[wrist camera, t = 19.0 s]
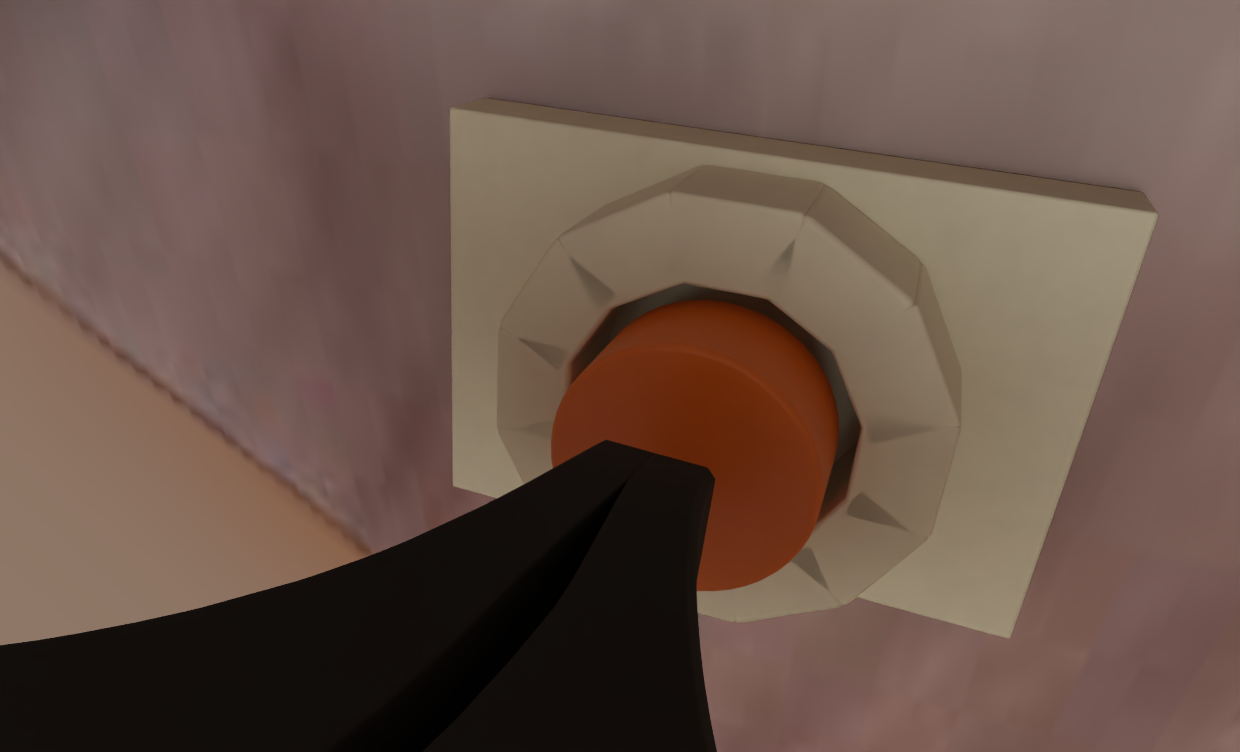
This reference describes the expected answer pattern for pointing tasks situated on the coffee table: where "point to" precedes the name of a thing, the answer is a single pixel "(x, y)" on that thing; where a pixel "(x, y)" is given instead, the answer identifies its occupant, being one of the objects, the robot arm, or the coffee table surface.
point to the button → (717, 425)
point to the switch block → (804, 328)
